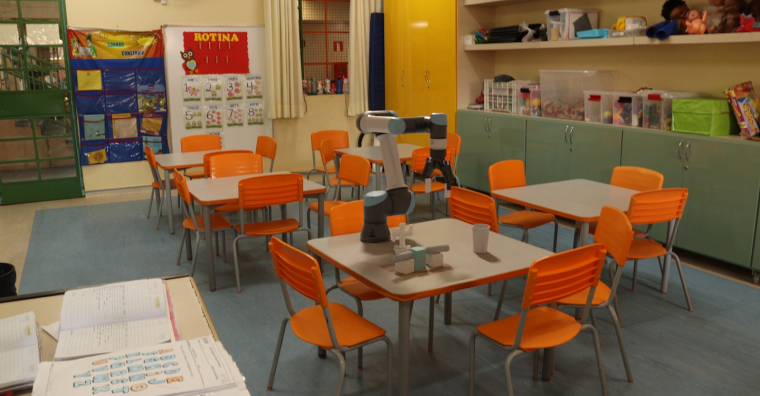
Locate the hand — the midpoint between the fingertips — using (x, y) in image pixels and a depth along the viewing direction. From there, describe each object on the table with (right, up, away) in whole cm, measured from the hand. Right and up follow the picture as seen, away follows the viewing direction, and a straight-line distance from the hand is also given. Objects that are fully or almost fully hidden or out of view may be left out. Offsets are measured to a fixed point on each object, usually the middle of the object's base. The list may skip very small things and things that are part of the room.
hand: (437, 194), depth 281 cm
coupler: (-10, -30, -20) cm, 38 cm away
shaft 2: (-2, -30, -16) cm, 34 cm away
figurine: (-16, -27, 0) cm, 32 cm away
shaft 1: (-17, -32, -26) cm, 45 cm away
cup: (+20, -26, +6) cm, 34 cm away
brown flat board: (-11, -31, -19) cm, 38 cm away
